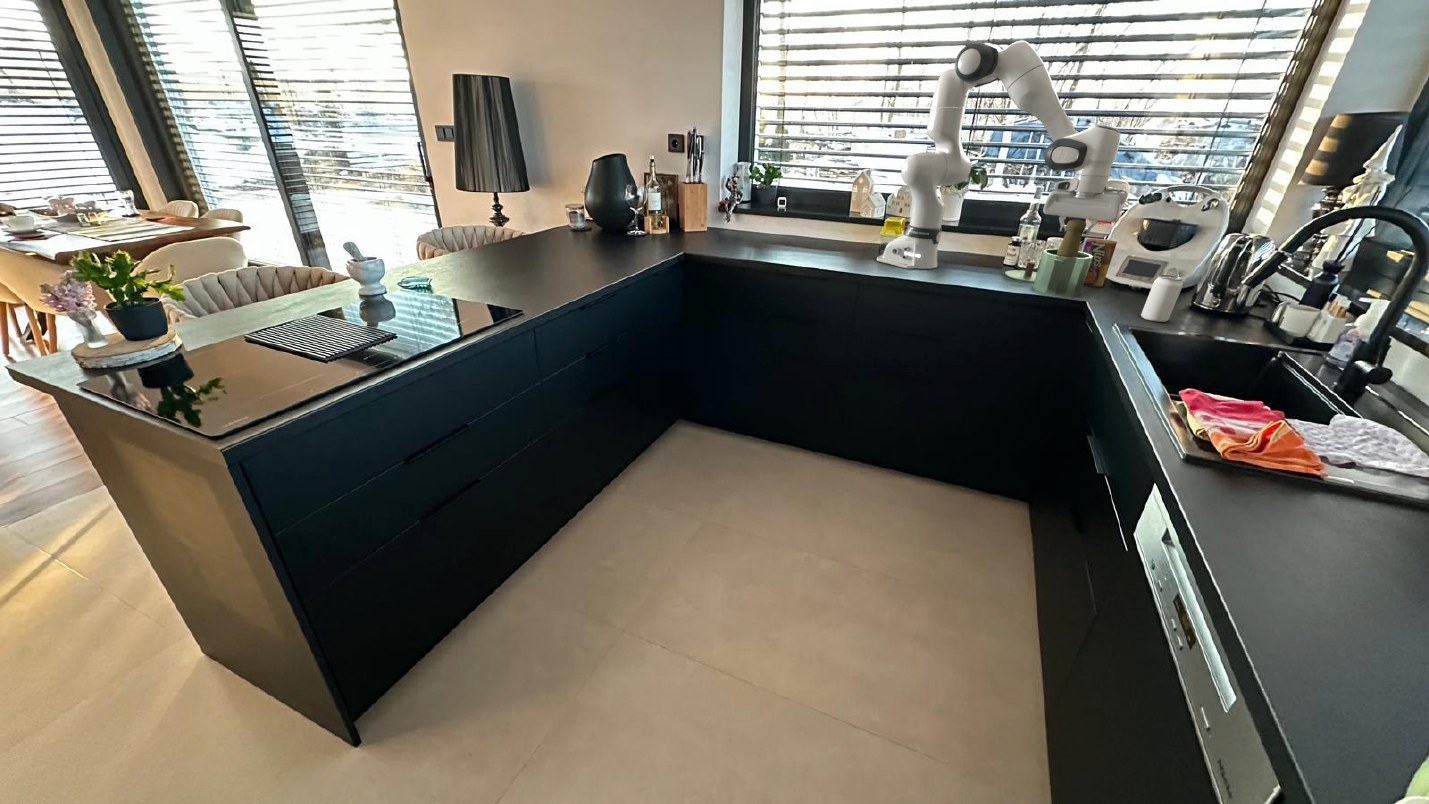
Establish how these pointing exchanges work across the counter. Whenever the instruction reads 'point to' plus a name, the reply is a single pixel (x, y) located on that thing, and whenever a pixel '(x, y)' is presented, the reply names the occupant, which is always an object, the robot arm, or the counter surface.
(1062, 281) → the pot
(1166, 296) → the can
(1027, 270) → the lid
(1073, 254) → the cork
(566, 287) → the counter surface
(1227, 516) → the counter surface
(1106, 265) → the candy box
